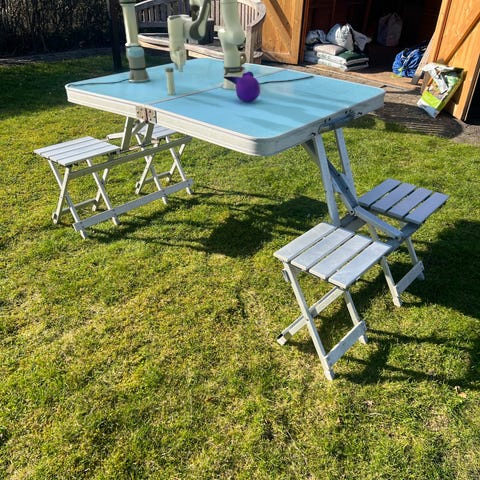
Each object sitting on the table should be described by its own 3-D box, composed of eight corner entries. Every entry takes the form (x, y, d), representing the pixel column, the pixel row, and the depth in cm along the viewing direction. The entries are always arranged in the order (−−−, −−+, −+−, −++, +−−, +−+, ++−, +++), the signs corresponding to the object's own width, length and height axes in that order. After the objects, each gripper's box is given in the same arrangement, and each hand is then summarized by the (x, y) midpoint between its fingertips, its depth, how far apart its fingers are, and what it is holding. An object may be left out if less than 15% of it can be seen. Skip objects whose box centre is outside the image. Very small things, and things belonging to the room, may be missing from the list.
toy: (245, 93, 294) (260, 108, 274) (220, 89, 287) (233, 103, 266) (251, 69, 286) (267, 82, 266) (226, 64, 279) (240, 76, 258)
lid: (175, 71, 292) (174, 67, 291) (168, 72, 289) (168, 68, 288) (170, 70, 296) (170, 66, 295) (164, 71, 293) (163, 68, 292)
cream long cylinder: (176, 93, 300) (174, 68, 292) (170, 95, 297) (168, 69, 289) (172, 92, 303) (170, 67, 294) (166, 94, 300) (164, 68, 292)
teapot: (227, 72, 362) (226, 52, 355) (220, 70, 371) (219, 51, 363) (249, 69, 371) (249, 50, 364) (242, 67, 380) (242, 48, 372)
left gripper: (203, 5, 329) (204, 36, 339) (195, 3, 349) (197, 33, 360) (193, 5, 327) (195, 37, 338) (186, 4, 347) (188, 34, 358)
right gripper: (187, 48, 258) (188, 73, 265) (177, 44, 274) (179, 68, 281) (176, 48, 256) (178, 74, 263) (167, 44, 272) (169, 68, 279)
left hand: (196, 35), depth 349 cm, fingers open, 13 cm apart
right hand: (178, 71), depth 272 cm, fingers open, 8 cm apart
